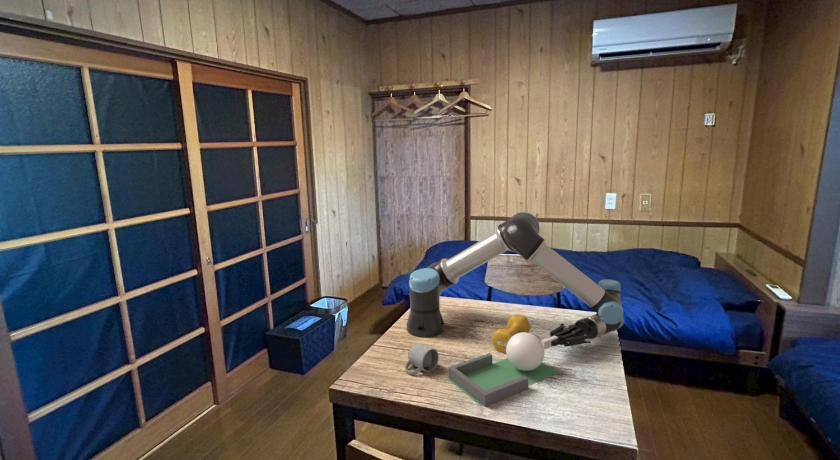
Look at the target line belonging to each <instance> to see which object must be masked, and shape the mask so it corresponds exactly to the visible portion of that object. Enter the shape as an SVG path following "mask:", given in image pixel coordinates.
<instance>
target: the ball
mask: <svg viewBox="0 0 840 460" xmlns="http://www.w3.org/2000/svg"><path fill="white" fill-rule="evenodd" d="M505 354H506V357H507V358H508V360H509V362H510V363H511V364H512V365H513V366H514V367H515V368H517V369H519V370H522V371H531V370H534V369H536V368H537V367H538V366H539V365H540V364H541V363H543V361H544V358H545V349H544V347H543V345H542V343H541V340H540V338H539V337H538V336H536V335H535V334H532V333H530V332H528V333H526V332H522V333H518V334H515V335H514V336H512V337H511V338H510V340H509V341H508V343H507V347H506V353H505ZM507 358H506V359H507Z"/></svg>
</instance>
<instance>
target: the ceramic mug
mask: <svg viewBox="0 0 840 460" xmlns="http://www.w3.org/2000/svg"><path fill="white" fill-rule="evenodd" d="M407 353H408V355H407V359H408V360H407V362H406V363H405V366H404V370H405V372H406V374H407V375H409V376H415V375H418V374H419V373H421V371H422V372H424V373H430V372H432V371H434V370H435V369H436V367H437V366H438V363H439V359H440V358H439V357H440V355H439V352H438V350H436V349H435V348H433V347H430V346H428V345H424V344H422V343H421V344H420V343H416V344H413V345H412V346H411V347H410V348H409V351H408V352H407ZM411 365H412V366H414V367H416V369H414V370H411V371H410V370H409V369H408V368H409V367H410V366H411ZM426 368H428V369H426Z"/></svg>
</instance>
